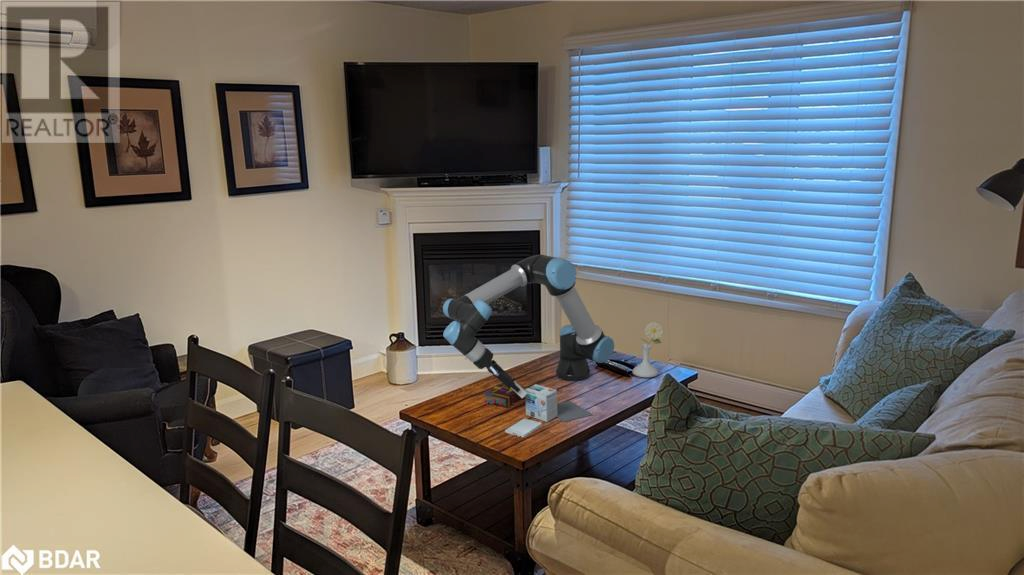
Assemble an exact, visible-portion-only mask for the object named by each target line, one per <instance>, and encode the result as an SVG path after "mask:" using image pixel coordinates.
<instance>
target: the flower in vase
mask: <svg viewBox="0 0 1024 575" xmlns="http://www.w3.org/2000/svg"><path fill="white" fill-rule="evenodd" d="M645 326H646V327H645V329H644V333H645V336H646V337H647V338H648V339H650V341H649V342H648V341H647V340H644V339H642V338H641V340H642V341H644V342H646V343H643V344H640V348H641V349H642V361H641V362H640V363H639V364H637V365H636V366H635V367H634V368H633V369H632V371H631V372H632V374H633V375H634V376H637V377H640V378H645V379H648V378H654V377H656V376H658V375H659V371H658V369H657V368H656V367H655V366H654V365H653V364H652V363H650V359H649V355H650V351H651V349H652V348H653V345H651V342H653V344H655V345H659V344H662V341H661V340H660V338H662V336H663V335H664V329H663V326H662V324H661V323H658V322H656V321H652V322H650V323H648V324H646V325H645ZM647 343H648V344H647Z"/></svg>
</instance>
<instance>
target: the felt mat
mask: <svg viewBox="0 0 1024 575" xmlns="http://www.w3.org/2000/svg"><path fill="white" fill-rule="evenodd" d="M591 416H594V414H593V413H592V412H590V411H589V410H587V409H585V408H583V407H581V406H579V405H577V404H576V403H575V402H573V401H571V400H568V401H567V400H566V401H563V402H559V403H558V402H557V417H556V418H557V419H559V420H561V421H563V422H564V423H567V422H571V421H574V420H578V419H582V418H586V417H591ZM570 420H571V421H570Z"/></svg>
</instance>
